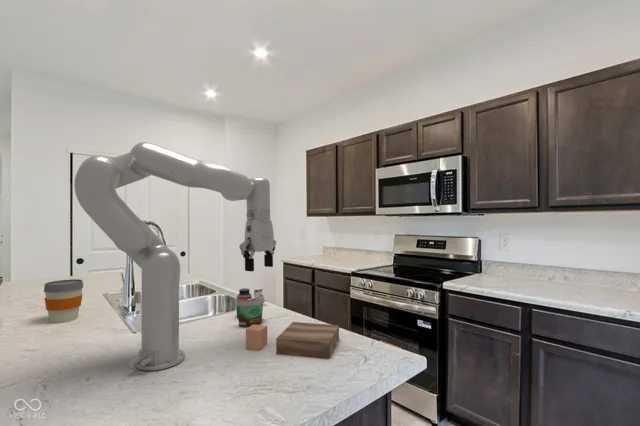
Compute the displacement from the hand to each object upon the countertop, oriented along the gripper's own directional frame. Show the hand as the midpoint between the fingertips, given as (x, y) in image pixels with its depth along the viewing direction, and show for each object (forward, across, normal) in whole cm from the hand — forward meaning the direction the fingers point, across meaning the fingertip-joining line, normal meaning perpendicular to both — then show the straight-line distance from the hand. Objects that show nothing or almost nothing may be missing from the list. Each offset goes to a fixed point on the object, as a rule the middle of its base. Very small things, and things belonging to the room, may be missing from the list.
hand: (259, 268), depth 108 cm
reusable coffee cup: (+23, -18, +85) cm, 90 cm away
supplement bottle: (+24, +19, +23) cm, 38 cm away
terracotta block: (+24, -4, -1) cm, 24 cm away
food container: (+24, +13, +14) cm, 30 cm away
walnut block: (+24, +4, -16) cm, 29 cm away
